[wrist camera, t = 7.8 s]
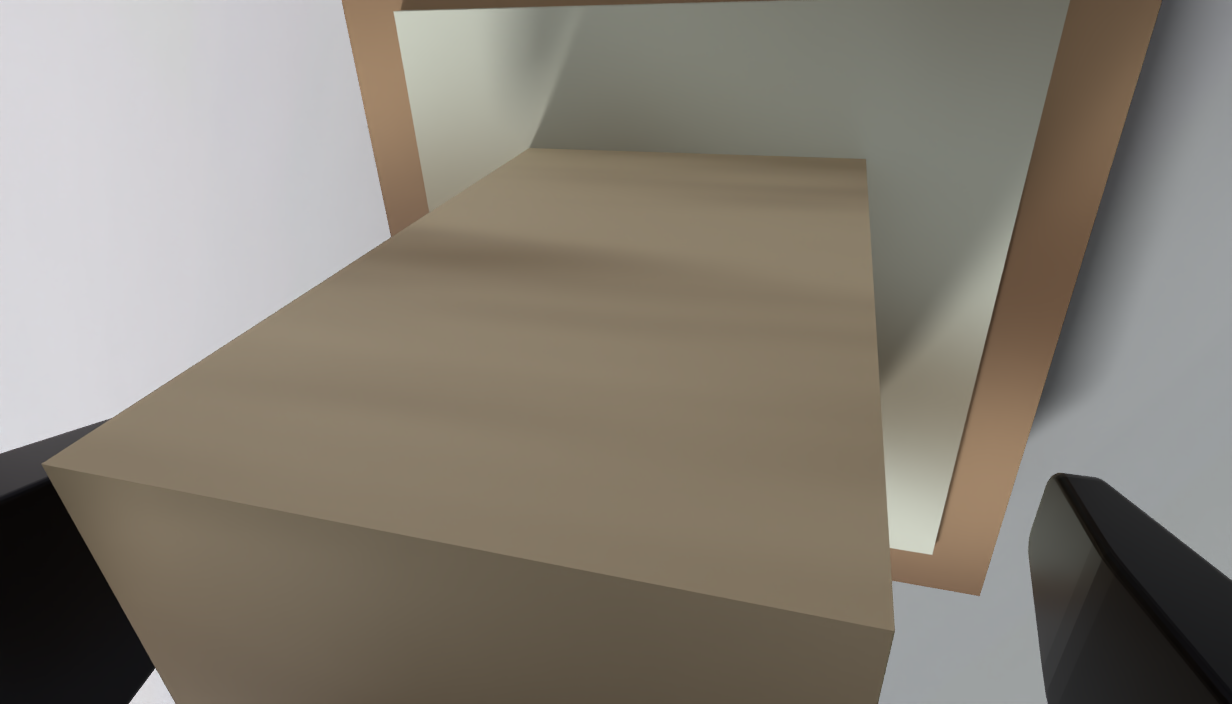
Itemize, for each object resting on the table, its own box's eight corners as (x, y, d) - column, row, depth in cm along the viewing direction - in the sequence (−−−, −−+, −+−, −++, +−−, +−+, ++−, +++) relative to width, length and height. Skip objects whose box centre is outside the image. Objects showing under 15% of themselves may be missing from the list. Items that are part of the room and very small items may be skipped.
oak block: (825, 449, 12) (794, 1056, 6) (555, 412, 14) (268, 868, 7) (865, 159, 10) (894, 630, 3) (529, 147, 11) (41, 464, 4)
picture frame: (958, 490, 16) (981, 604, 13) (501, 425, 18) (442, 507, 16) (1111, -101, 10) (1204, -115, 7) (429, -62, 13) (320, -63, 10)
